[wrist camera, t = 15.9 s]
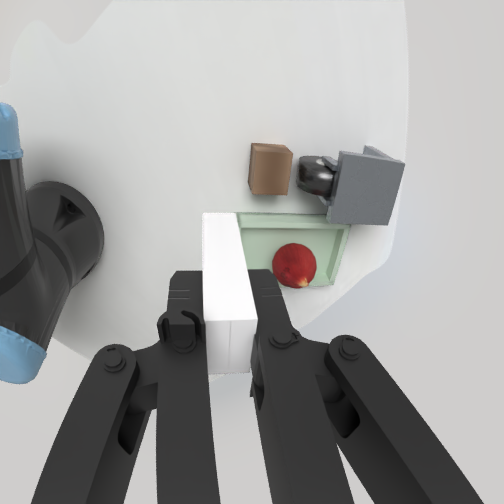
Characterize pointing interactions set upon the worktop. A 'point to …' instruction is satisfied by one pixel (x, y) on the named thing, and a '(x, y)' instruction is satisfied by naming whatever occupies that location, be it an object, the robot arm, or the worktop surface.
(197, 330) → the robot arm
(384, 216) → the caster wheel
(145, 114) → the worktop surface
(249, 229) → the tray
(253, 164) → the block
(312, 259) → the onion
